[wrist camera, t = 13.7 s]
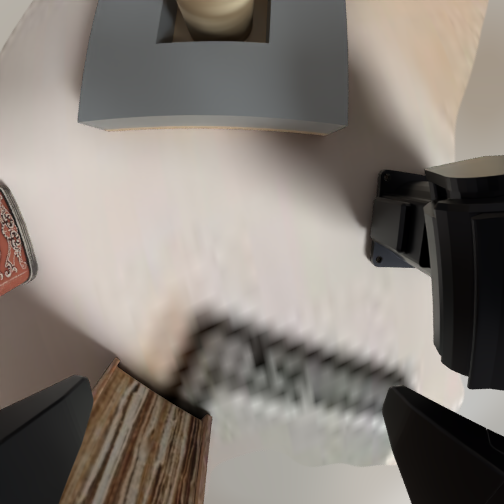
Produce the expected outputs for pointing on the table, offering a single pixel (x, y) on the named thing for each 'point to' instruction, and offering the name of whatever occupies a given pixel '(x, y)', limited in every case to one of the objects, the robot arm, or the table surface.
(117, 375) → the book
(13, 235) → the lighter
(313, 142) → the table surface
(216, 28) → the wooden pin
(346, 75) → the grey square-holed block
